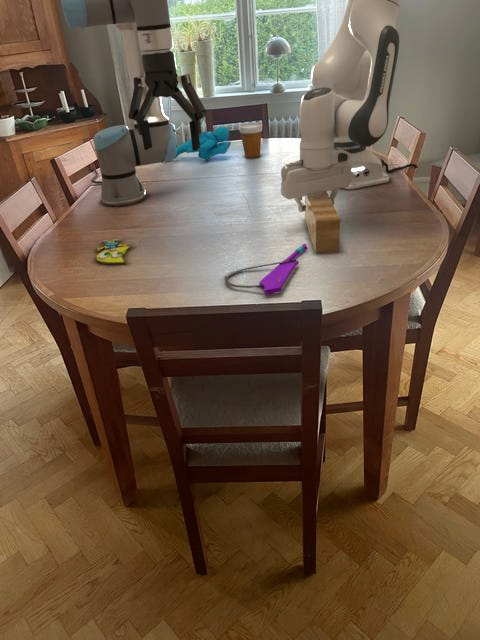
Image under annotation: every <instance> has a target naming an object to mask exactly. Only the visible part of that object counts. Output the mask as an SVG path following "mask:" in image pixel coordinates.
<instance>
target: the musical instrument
mask: <svg viewBox="0 0 480 640" xmlns="http://www.w3.org/2000/svg"><path fill="white" fill-rule="evenodd" d="M306 250H308V246H307V244H306V243H303V244H301V245H300V246H299V247H298V248H297V249H295V250H294V252H292V254H290V255H289V256H288V257H286V258H285V259H284V260H282V261H279V262H278V261H277V262H273V263H267V264H261V265H255V266H249V267H245V268H241V269H238V270H236V271H234V272H231V273H230V274H228V275H226V276H225V277H224V282H225V283H226V285H227V286H230V287H234V288H243V289H244V288H245V289H252V288H262V289H263V290H264V295H265V296H267V295H271V294H277V293H281V292H282V291H283V288H284V287H285V285H286V284H287V282H288V280H290V278H291V276H292V274H293V273H294V271H295V270H296V268H297V267H298V265H299V264H300V262H299V260H298V259H296V258H297V257H298V256H299V255H300V254H302V253H303V252H304V251H306ZM275 265H276V267H274V268H273V269H272V270H271V271H270V272H269V273H268V274H267V275H265V276H264V277H263V278H262V279H261V280H259V284H258V285H256V284H255V285H253V284H252V285H239V284H234V283H232V282H230V281H229V280H228V279H229V278H230V277H232V276H233V275H235V274H237V273H240V272H242V271H247V270H251V269H256V268H257V269H258V268H262V267H268V266H275Z"/></svg>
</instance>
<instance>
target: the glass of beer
mask: <svg viewBox="0 0 480 640" xmlns="http://www.w3.org/2000/svg"><path fill="white" fill-rule="evenodd" d="M262 131H263V126H262V124H261V123H245V124H241V125H240V126H239V133H240V137H241V142H242V147H243V152H244V157H245V158H248V159H249V158H251V159H252V158H253V159H254V158H258V157H260V156H261V144H262Z"/></svg>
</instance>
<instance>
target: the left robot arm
mask: <svg viewBox="0 0 480 640" xmlns="http://www.w3.org/2000/svg"><path fill="white" fill-rule="evenodd" d="M60 2H61V6H62V11H63V15H64V19H65V23H66V25H67V26H68V27H69V28H71V29H74V28H80V29H84V28H89V27H99V26H106V25H114V27H115V28H117V29H118V30H119V31H120V34H121V37H122V38H121V39H122V45H123V49H124V54H125V60H126V65H127V69H128V75H129V80H130V87H131V92H132V97H131V101H130V107H129V112H128V119H129V120H133V128H132V129H130V128H129V127H128V126H127V125H126V124H121V125H114V126H110V127H107V128H103V129H101V130H99V131H97V132H96V133H95V134H94V136H93V145H94V152H96V153H95V154H96V157H97V162H98V166H99V170H100V176H101V179H102V181H100V180H99V181H98V180H97V181H96V179H98V177H99V172H98V171H97V170H96V169H95V168H92V169H91V170H90V172H91V173H93V172H94V173H95V174H96V175H95V176H93V177H92V178H91V179H90V182H91V183H94V184H101V193H100V196H101V197H100V198H101V199H100V200H101V203H102V204H103V205H104V206H108V207H124V206H130V205H135V204H137V203H140V202H141V201H143V200H145V199H146V197H147V193H146V189H145V186H146V184H145V183H146V182H145V181H144V182H143V183H142V182H141V179H140V178H139V176H138V172H137V168H136V167H141V166H147V165H154V164H160V163H161V164H163V163H166V162H171V161H174V160H175V159H176V158H175V156H176V150H177V147H178V145H177V143H178V141H177V133H176V127H175V124H173V123H171V122H170V118H169V117H168V116H167V115H165V113H164V109H163V104H162V97H163V98H171V99H172V100H174V101H175V102H176V103H177V105H178V106H179V107H180V108H181V109H182V110H183V112H184V113H185V114H186V116H188V118H190V120H191V121H189V122H188V124H189V132H190V139H191V141H192V149H193V151H196V150H197V149H199V148H200V141H199V135H200V134H201V132H202V124H201V120H202V119H204V118H206V117H207V116H208V112H207V110H206V109H205V107H204V104H203V103H202V101H201V98H200V97H199V95H198V93H197V92H196V90H195V88H194V86H193V84H192V83H193V82H192V79H191V76H190V75H191V74H189V73H185V74H182V75H178V73H177V61H176V55H175V54H176V53H175V52H174V51H172V49H174V48H175V46H174V40H173V32H172V26H171V19H170V12H169V4H168V3H169V2H168V0H60ZM178 85H180V86H182V89H183V91H184V93H185V94H186V96H187V98H186V97H185V95H184V94H183V92H182V90H181V88H179V87H178ZM174 158H175V159H174Z"/></svg>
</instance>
